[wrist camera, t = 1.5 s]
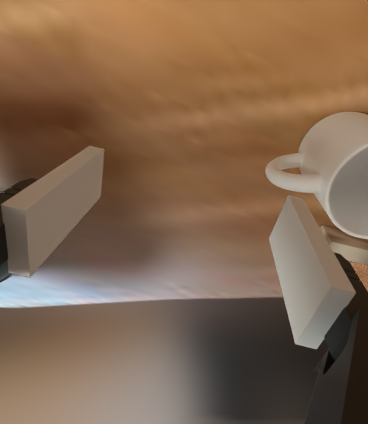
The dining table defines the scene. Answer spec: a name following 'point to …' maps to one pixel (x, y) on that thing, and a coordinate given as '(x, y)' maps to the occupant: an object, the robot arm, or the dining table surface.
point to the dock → (346, 245)
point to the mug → (332, 170)
